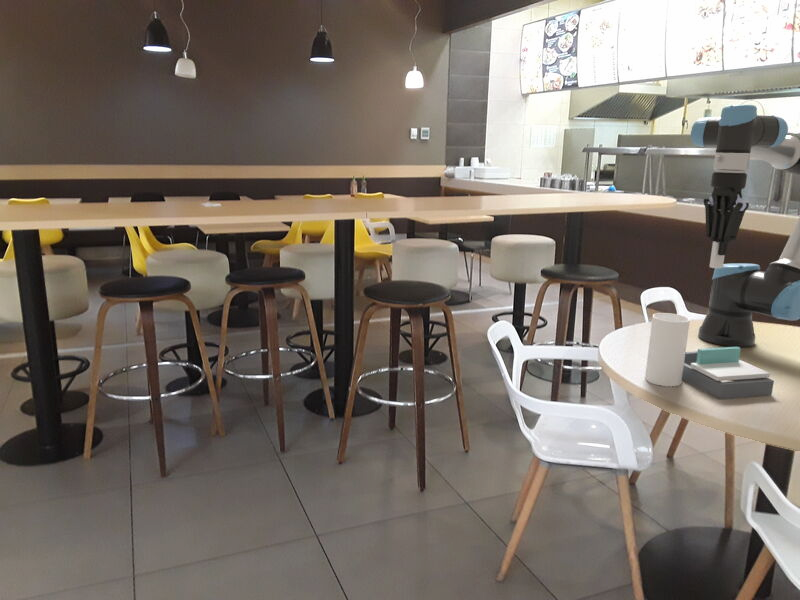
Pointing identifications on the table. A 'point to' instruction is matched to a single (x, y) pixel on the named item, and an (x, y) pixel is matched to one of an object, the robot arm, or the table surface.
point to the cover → (725, 365)
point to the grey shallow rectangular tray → (725, 383)
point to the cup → (667, 349)
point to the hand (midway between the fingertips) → (716, 267)
